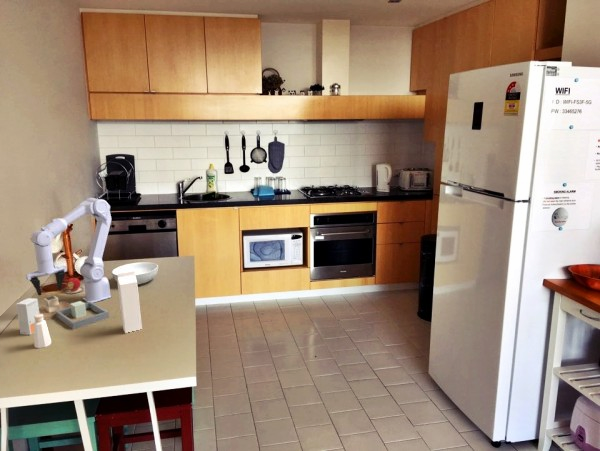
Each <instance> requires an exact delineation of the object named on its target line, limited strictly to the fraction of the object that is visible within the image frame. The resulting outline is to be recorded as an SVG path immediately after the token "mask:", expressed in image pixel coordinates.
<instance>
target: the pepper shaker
mask: <svg viewBox="0 0 600 451" xmlns="http://www.w3.org/2000/svg"><path fill="white" fill-rule="evenodd" d="M34 318H35V322H34V333H33V344H34V348H37V349H42V348H46V347H49V346H51V344H52V338H51V335H50V332H49V328H48V325H47V320H44V318H43V314H37V315H35V316H34Z"/></svg>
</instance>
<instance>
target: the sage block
mask: <svg viewBox="0 0 600 451" xmlns="http://www.w3.org/2000/svg"><path fill="white" fill-rule="evenodd" d="M85 303H86V302H83V301H81V300H79V301H75V302H71V303H69V304H70V306H71V313H72V314H71V316H72V317H74V318H75V319H79V318H82V317H85V316H87V309H86V307H85Z"/></svg>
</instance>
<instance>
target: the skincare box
mask: <svg viewBox="0 0 600 451" xmlns="http://www.w3.org/2000/svg"><path fill="white" fill-rule="evenodd" d="M38 300H39V299H38V298H31V297H27V298H25V299H23V300H21V301H19V302H17V303H16V304H15V307H16V312H17V319H18V325H19V331H20V335H25V336H31V335H32V334H34V322H35V318H34V316H35V315H37V314H39V308H40V307H39V301H38Z"/></svg>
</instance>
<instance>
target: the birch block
mask: <svg viewBox="0 0 600 451" xmlns="http://www.w3.org/2000/svg"><path fill="white" fill-rule="evenodd" d="M59 302H60V301H59V298H58V296H56V295H52V296H51V295H50V296H47V297H43V303H44V307H45V310H46V311H48V312H49V313H50V312H54V311H57V310H60V307H59Z"/></svg>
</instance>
